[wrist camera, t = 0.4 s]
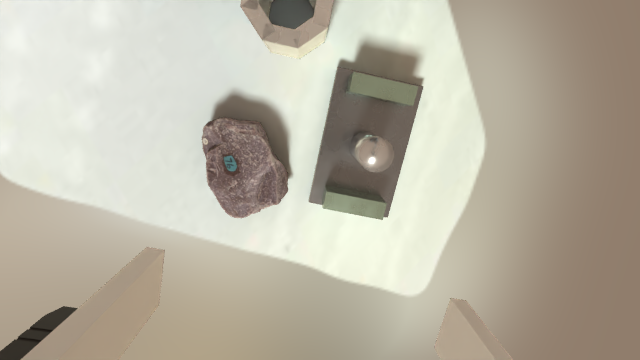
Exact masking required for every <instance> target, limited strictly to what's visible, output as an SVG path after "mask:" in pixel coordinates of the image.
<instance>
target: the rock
mask: <svg viewBox="0 0 640 360" xmlns="http://www.w3.org/2000/svg"><path fill="white" fill-rule="evenodd" d="M202 143H203V151H204V154H205V156H206V160H207V162H206V170H207V182H208V185H209V187H210V189H211V190H212V191H213V193H214V194H215V196H216V198H217V200H218V202H219V203H220V205H221V207H222V208H223V209H224V210H225V212H226V213H227V214H228V215H230V216H231V217H235V218H244V217H247V216H249V215H251V214H254V213H257V212H259V211H260V210H261V209H264V208H266V207H269V206H272V205H277V204H279V203H280V201H281V199H282V198H283V197H284V196H285V194H286V193H287V192H288V187H287V185H288V183H287V182H288V172H287V171H286V169H285V167H284V165H283V164H282V163H281V162H280V161H279V159H278V158H277V157H276V155H275V154H274V153H273V151H272V150H271V147H270V145H269V142H268V139H267V134H266V132H265V130H264V129H263V126H262V125H261V123H260V122H257V121H248V120H244V121H238V120H235V119H232V118H227V117H223V118H218V119H216V120H213V121H210V122H208V123H207V124H206V125H205V127H204V128H203V136H202Z"/></svg>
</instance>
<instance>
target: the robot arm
mask: <svg viewBox="0 0 640 360" xmlns="http://www.w3.org/2000/svg"><path fill="white" fill-rule="evenodd" d="M164 253H165V250H162V249H156V248H149V247H147V248H145V249H144V250H143V251H142V252H141V253H139V254H138V255H137V256H136V257H135V258H134V259H133V260H132V261H131V262H129V263H128V264H127V265H126V266H125V267H124V268H123V269H122V270H120V271H119V272H118V273H117V274H116V275H115V276H114V277H113V278H111V280H109V281H108V282H107V283H106V284H105V285H104V286H103V287H101V289H99V290H98V291H97V292H96V293H95V294H94V295H93V296H91V297H90V298H89V299H88V300H87V301H86V302H85V303H83V304H82V305H81V306H80V307H79V308H71V307H65V306H63V307H61V308H59V309H57V310H55V311H53V312H51V313H49V314H47V315H45V316H44V317H42V318H41V319H40V320H39V321H37V322H36V323H35V324H34V325H32V326H31V327H30V329H29V330H26V331H25V332H24V333H22V334H21V335H20V336H19V337H18V339H17V340H14V341H13V342H12V343H10V344H9V345H8V346H6V347H5V348H4V349H3V350H1V351H0V360H119V359H120V357H121V356H122V355H123V353H124V352H125V351H126V349H127V348H128V346H129V345H130V344H131V342H132V341H133V340H134V338H135V337H136V336H137V334H138V333H139V332H140V330H141V329H142V327H143V326H144V325H145V323H146V322H147V321H148V319H149V318H150V317H151V315H152V314H153V313H154V311H155V310H156V309H157V307H158V306H159V300H160V290H161V281H162V272H163V262H164ZM434 348H435V350H436V352H437V354H438V356H439V358H440V360H513V359H512V358H511V357H510V355H509V354H508V353H507V351H506V350H505V349H504V347H503V346H502V345H501V344H500V343H499V341H498V340H497V339H496V337H495V336H494V335H493V334H492V332H491V331H490V330H489V329H488V328H487V326H486V325H485V324H484V323H483V321H482V320H481V319H480V317H479V316H478V315H477V314H476V313H475V311H474V310H473V309H472V307H471V306H470V305H469V304H468V302H467V301H466V300H460V299H454V298H450V302H449V304H448V307H447V310H446V313H445V317H444V319H443V322H442V325H441V328H440V332H439V334H438V338H437V340H436V343H435V346H434Z"/></svg>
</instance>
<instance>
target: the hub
mask: <svg viewBox="0 0 640 360" xmlns="http://www.w3.org/2000/svg"><path fill="white" fill-rule="evenodd" d="M273 1H274V0H241V8H242V9H243V11H244V13H245V14H246V16H247V17H248V19H249V20H250V22H251V24H252V25H253V27H254V28H255V30H256V31H257V33H258V34H259V36H260V38H261V39H262V41H263V42H264V44H265V45H266V46H267V48H268V49H269V51H270V52H271V53H275V54H279V55H283V56H288V57H292V58H296V59H301V58H302V57H304V56H305V55H307V54H308V53H310V52H311V51H312V50H314V49H315V48H317V47H318V46H320V45H321V44H323V43H324V42H325V38H326V34H327V30H328V26H329V21H330V16H331V11H332V6H333V2H334V0H308V1H309V2H310V4H311V6H312V7H313V9H314V16H313V17H312V18H310V19H309V20H307V21H306V22H305V23H303V24H302V25H300V26H299V27H297V28H296V29H290V28H286V27H282V26H277V25H273V24H271V22H270V21H269V13H270V7H271V2H273Z"/></svg>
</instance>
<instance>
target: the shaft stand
mask: <svg viewBox="0 0 640 360" xmlns="http://www.w3.org/2000/svg"><path fill="white" fill-rule="evenodd" d="M422 90H423V86H418V85H414V84H410V83H405V82H401V81H397V80H392V79H388V78H384V77H379V76H375V75H371V74H367V73H362V72H358V71H354V70H349V69H345V68H341V67H337V70H336V75H335V80H334V84H333V89H332V94H331V98H330V103H329V108H328V112H327V117H326V122H325V126H324V131H323V136H322V140H321V145H320V150H319V154H318V159H317V164H316V168H315V173H314V178H313V182H312V187H311V192H310V196H309V202H310V203H315V204H321V205H322V206H323V208H324V209H329V210H334V211H339V212H345V213H350V214H355V215H360V216H365V217H370V218H376V219H381V220H383V217H388V214H389V211H390V207H391V203H392V200H393V196H394V192H395V189H396V185H397V181H398V178H399V174H400V170H401V167H402V163H403V159H404V156H405V152H406V148H407V145H408V141H409V137H410V134H411V130H412V126H413V123H414V119H415V115H416V112H417V108H418V104H419V101H420V97H421V93H422Z"/></svg>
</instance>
